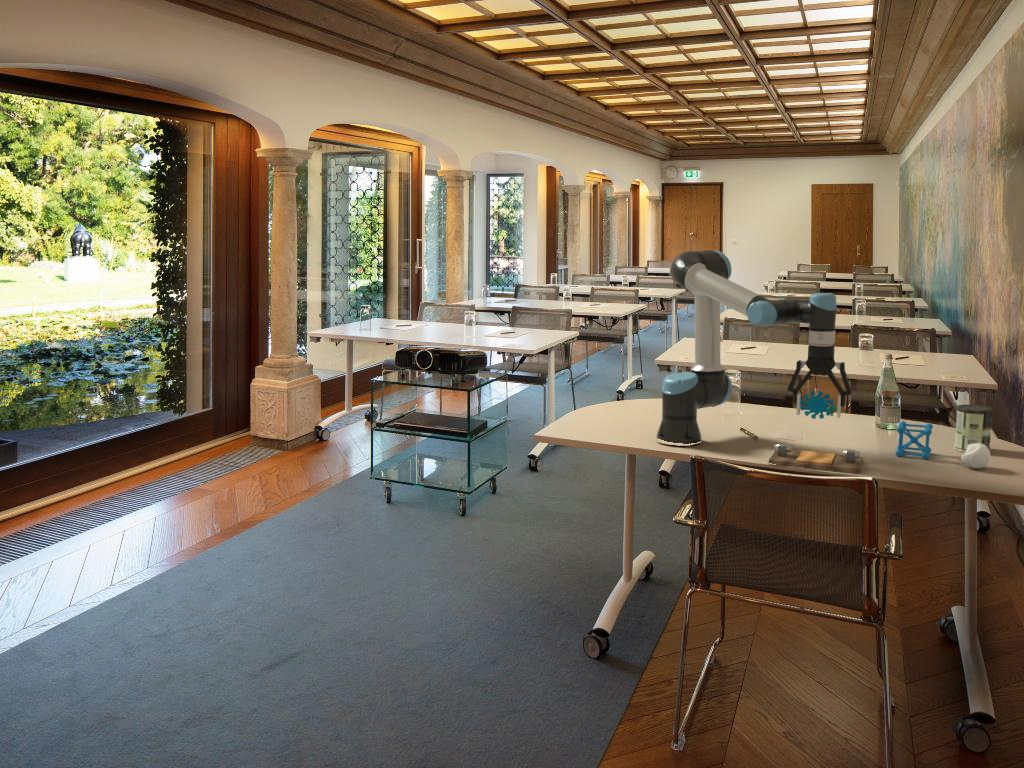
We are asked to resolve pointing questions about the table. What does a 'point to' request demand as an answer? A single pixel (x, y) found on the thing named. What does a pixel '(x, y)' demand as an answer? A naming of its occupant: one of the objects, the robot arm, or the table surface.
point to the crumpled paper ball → (976, 456)
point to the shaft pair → (847, 453)
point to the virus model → (818, 405)
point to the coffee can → (973, 426)
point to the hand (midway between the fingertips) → (818, 415)
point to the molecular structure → (914, 439)
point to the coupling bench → (817, 461)
